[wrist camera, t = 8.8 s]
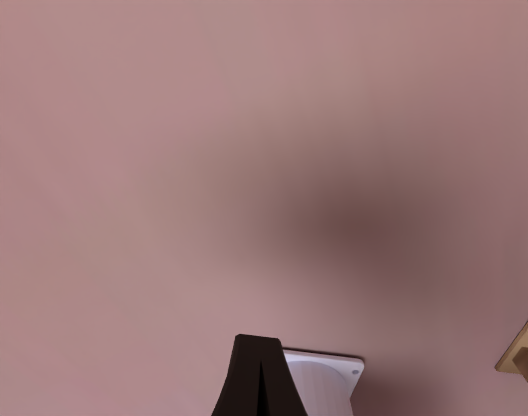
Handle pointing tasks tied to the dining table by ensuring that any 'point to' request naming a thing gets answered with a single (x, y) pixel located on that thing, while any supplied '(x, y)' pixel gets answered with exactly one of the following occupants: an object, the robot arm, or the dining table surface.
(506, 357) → the chute
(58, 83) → the dining table surface
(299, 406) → the robot arm
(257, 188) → the dining table surface
